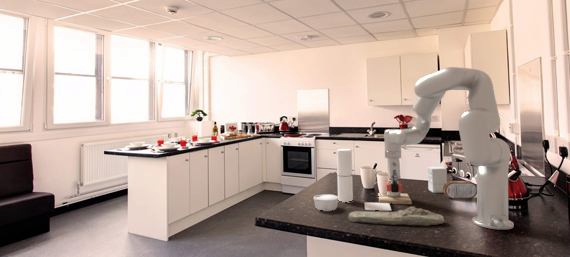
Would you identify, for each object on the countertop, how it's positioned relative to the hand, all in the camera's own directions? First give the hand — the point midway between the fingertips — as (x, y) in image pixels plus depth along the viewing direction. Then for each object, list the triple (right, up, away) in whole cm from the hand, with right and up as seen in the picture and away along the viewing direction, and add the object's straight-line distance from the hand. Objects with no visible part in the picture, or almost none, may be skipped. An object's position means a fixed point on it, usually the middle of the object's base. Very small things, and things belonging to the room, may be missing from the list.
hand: (393, 189), depth 151 cm
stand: (0, -5, 0) cm, 5 cm away
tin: (+32, -4, -1) cm, 32 cm away
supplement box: (+28, -4, +14) cm, 32 cm away
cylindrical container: (-23, -6, +2) cm, 24 cm away
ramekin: (-34, -7, -10) cm, 36 cm away
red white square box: (0, 0, 0) cm, 0 cm away
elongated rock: (-10, -7, -30) cm, 33 cm away
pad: (-11, -6, -11) cm, 17 cm away
